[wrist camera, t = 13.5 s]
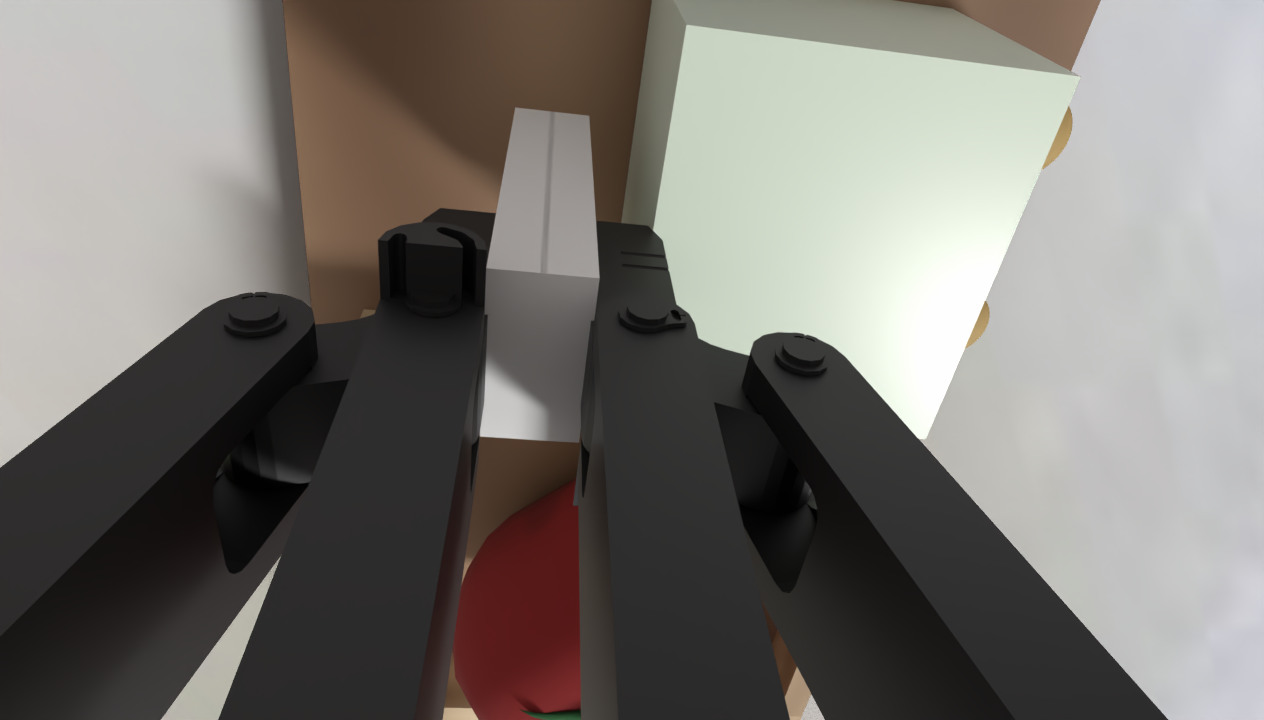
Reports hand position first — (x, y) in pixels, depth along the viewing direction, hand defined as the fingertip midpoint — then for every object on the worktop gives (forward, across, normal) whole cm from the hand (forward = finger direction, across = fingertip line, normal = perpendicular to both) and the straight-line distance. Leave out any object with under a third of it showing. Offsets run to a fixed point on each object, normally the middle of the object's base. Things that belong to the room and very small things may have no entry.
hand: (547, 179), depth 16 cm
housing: (+1, +5, 0) cm, 5 cm away
